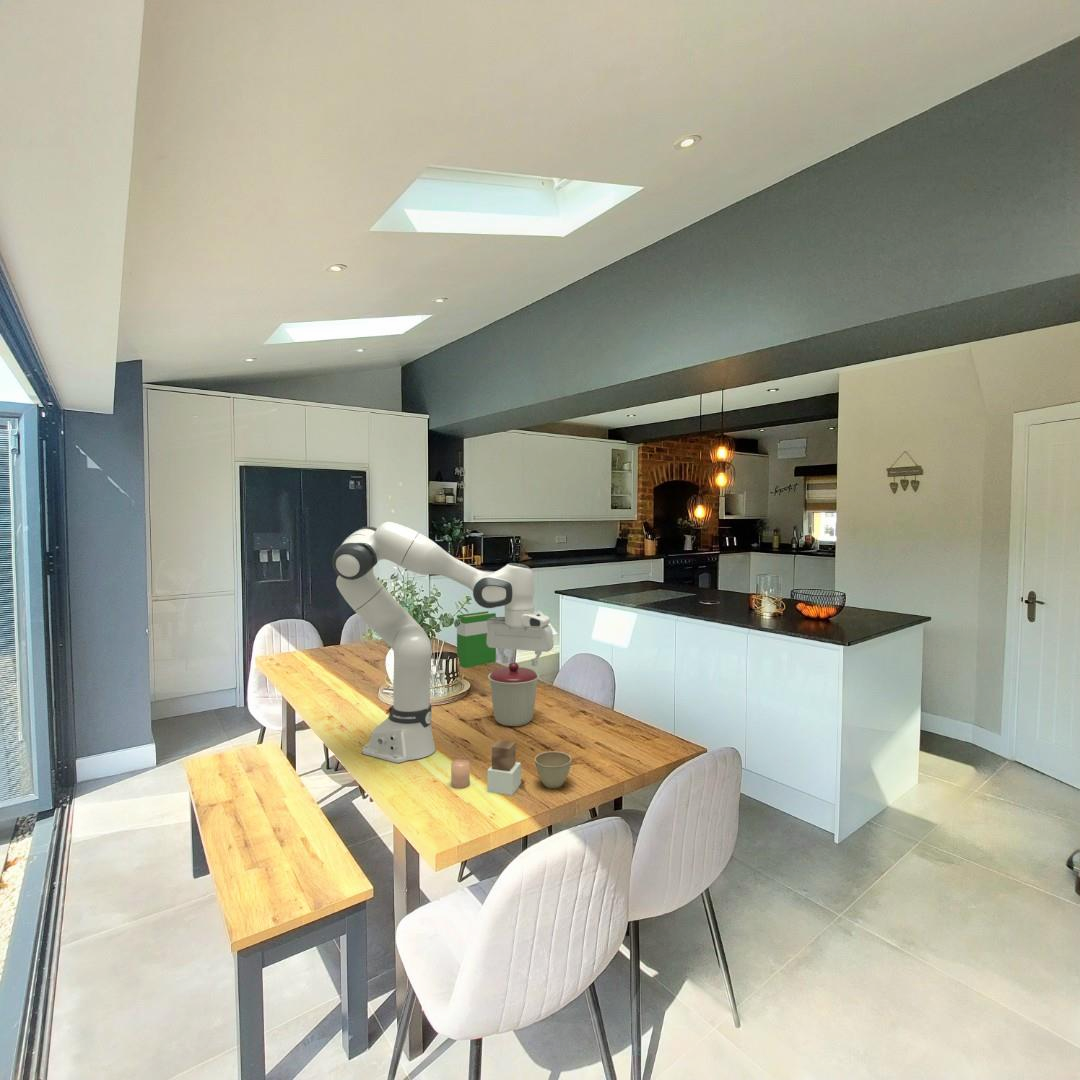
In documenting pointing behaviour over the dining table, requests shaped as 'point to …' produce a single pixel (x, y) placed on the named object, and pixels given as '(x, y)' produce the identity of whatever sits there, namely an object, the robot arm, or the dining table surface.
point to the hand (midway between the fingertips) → (519, 664)
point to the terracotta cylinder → (460, 774)
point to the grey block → (504, 780)
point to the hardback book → (474, 640)
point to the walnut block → (503, 755)
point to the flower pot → (553, 768)
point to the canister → (513, 694)
